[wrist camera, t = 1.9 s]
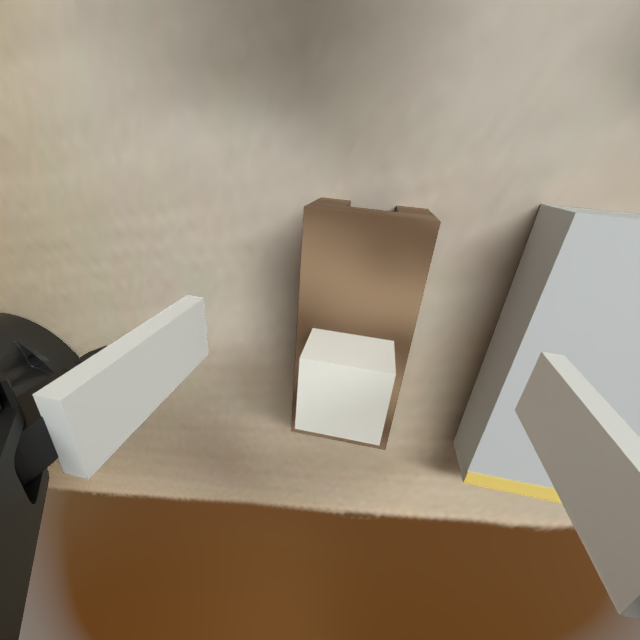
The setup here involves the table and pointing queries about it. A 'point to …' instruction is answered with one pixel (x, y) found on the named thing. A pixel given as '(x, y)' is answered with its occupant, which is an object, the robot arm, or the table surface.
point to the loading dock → (556, 340)
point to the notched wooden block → (363, 280)
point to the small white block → (345, 385)
